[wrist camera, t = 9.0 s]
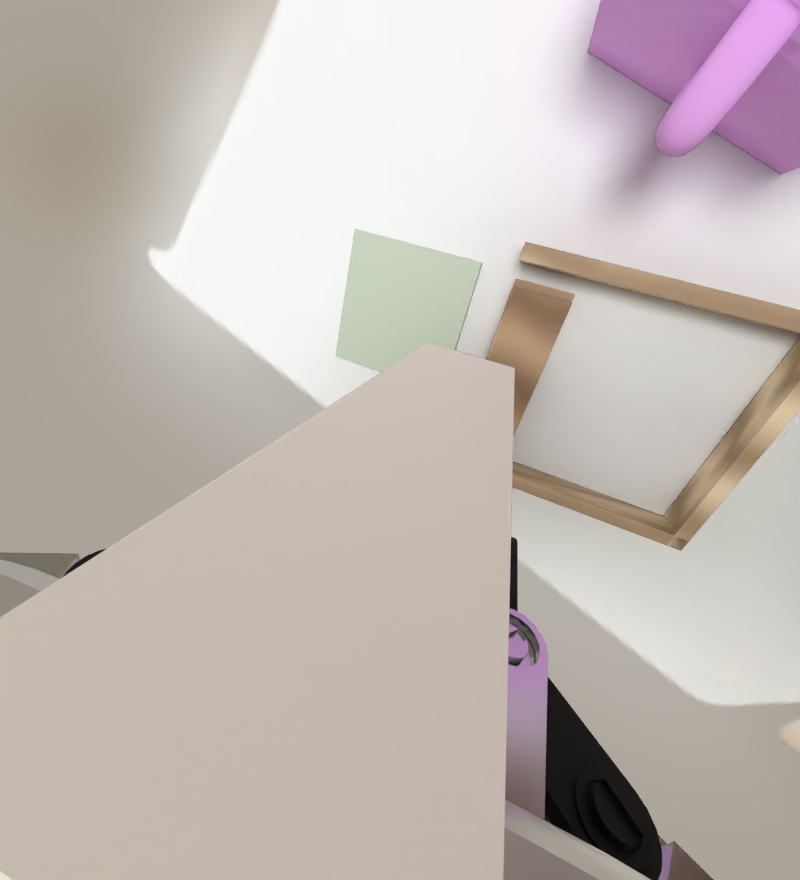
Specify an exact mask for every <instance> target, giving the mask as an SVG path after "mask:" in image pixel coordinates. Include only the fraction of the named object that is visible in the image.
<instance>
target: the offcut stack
mask: <svg viewBox="0 0 800 880" xmlns="http://www.w3.org/2000/svg"><path fill="white" fill-rule="evenodd" d="M574 295H575V294H572V293H568V292H564V291H560V290H557V289H553V288H549V287H546V286H542V285H538V284H534V283H531V282H527V281H523V280H519V279H516V280H515V283H514V286H513V289H512V290H511V293H510V296H509V298H508V301H507V304H506V307H505V310H504V312H503V315H502V318H501V321H500V323H499V326H498V329H497V332H496V335H495V337H494V340H493V343H492V346H491V349H490V351H489V354H488V357H487V360H489V361H493V362H496V363H500V364H503V365H506V366H510V367H513V368H515V381H514V425H513V436H514V434H515V431H516V429H517V427H518V425H519V422H520V420H521V418H522V415H523V413H524V411H525V409H526V406H527V404H528V402H529V400H530V397H531V395H532V393H533V391H534V388H535V386H536V384H537V381H538V379H539V377H540V375H541V372H542V370H543V368H544V366H545V363H546V361H547V359H548V356H549V354H550V352H551V350H552V347H553V345H554V343H555V341H556V338H557V336H558V334H559V332H560V329H561V327H562V325H563V322H564V320H565V318H566V316H567V313H568V311H569V309H570V307H571V304H572V303H571V302H572V300H573V297H574Z"/></svg>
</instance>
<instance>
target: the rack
mask: <svg viewBox="0 0 800 880" xmlns="http://www.w3.org/2000/svg"><path fill="white" fill-rule="evenodd" d="M519 260H520V262H524V263H528V264H531V265H535V266H539V267H543V268H547V269H551V270H555V271H558V272H562V273H566V274H570V275H574V276H578V277H582V278H585V279H589V280H593V281H597V282H601V283H605V284H609V285H612V286H616V287H620V288H624V289H628V290H632V291H636V292H639V293H643V294H647V295H651V296H655V297H659V298H663V299H666V300H670V301H674V302H678V303H682V304H686V305H690V306H693V307H697V308H701V309H705V310H709V311H713V312H717V313H720V314H724V315H728V316H732V317H736V318H740V319H743V320H747V321H751V322H755V323H759V324H763V325H767V326H770V327H774V328H778V329H782V330H786V331H790V332H794V333H797V334H800V310H797V309H793V308H789V307H785V306H781V305H777V304H773V303H769V302H765V301H761V300H757V299H753V298H749V297H745V296H741V295H737V294H733V293H729V292H725V291H721V290H717V289H713V288H709V287H705V286H701V285H697V284H693V283H689V282H685V281H681V280H677V279H672V278H668V277H664V276H660V275H656V274H652V273H648V272H644V271H640V270H636V269H632V268H628V267H624V266H620V265H616V264H612V263H608V262H604V261H600V260H596V259H592V258H588V257H584V256H580V255H576V254H572V253H568V252H564V251H560V250H556V249H552V248H548V247H544V246H540V245H536V244H532V243H528V242H525V245H524V248H523V251H522V253H521V256H520V259H519ZM799 410H800V338H799V339H798V341H797V342H796V343H795V344H794V346H793V347H792V348H791V350H790V351H789V352H788V354H787V355H786V356H785V358H784V359H783V360H782V361H781V363H780V364H779V365H778V367H777V368H776V369H775V371H774V372H773V373H772V375H771V376H770V377H769V379H768V380H767V381H766V382H765V384H764V385H763V386H762V388H761V389H760V390H759V392H758V393H757V394H756V396H755V397H754V398H753V399H752V401H751V402H750V403H749V405H748V406H747V407H746V409H745V410H744V411H743V413H742V414H741V415H740V417H739V418H738V419H737V420H736V422H735V423H734V424H733V426H732V427H731V428H730V430H729V431H728V432H727V434H726V435H725V436H724V437H723V439H722V440H721V441H720V443H719V444H718V445H717V447H716V448H715V449H714V451H713V452H712V453H711V455H710V456H709V457H708V458H707V460H706V461H705V462H704V464H703V465H702V466H701V468H700V469H699V470H698V472H697V473H696V474H695V475H694V477H693V478H692V479H691V481H690V482H689V483H688V485H687V486H686V487H685V489H684V490H683V491H682V493H681V494H680V495H679V496H678V498H677V499H676V500H675V502H674V503H673V504H672V506H671V507H670V508H669V510H668V511H667V512H666V513H665V515H664V516H661V515H658V514H656V513H653V512H650V511H647V510H645V509H642V508H639V507H636V506H634V505H631V504H628V503H625V502H623V501H620V500H617V499H614V498H612V497H609V496H606V495H603V494H601V493H598V492H595V491H592V490H590V489H587V488H584V487H582V486H579V485H576V484H573V483H571V482H568V481H565V480H562V479H560V478H557V477H554V476H551V475H549V474H546V473H543V472H540V471H538V470H535V469H532V468H529V467H527V466H524V465H521V464H518V463H516V462H513V469H512V487H514V488H516V489H519V490H522V491H524V492H527V493H530V494H532V495H535V496H537V497H540V498H543V499H545V500H548V501H551V502H553V503H556V504H559V505H561V506H564V507H567V508H569V509H572V510H575V511H577V512H580V513H582V514H585V515H588V516H590V517H593V518H596V519H598V520H601V521H604V522H606V523H609V524H612V525H614V526H617V527H620V528H622V529H625V530H627V531H630V532H633V533H635V534H638V535H641V536H643V537H646V538H649V539H651V540H654V541H657V542H659V543H662V544H665V545H667V546H670V547H672V548H675V549H678V550H680V551H681V550H682V549H683V548H684V546H685V545H686V544H687V543H688V542H689V540H690V539H691V538H692V537H693V536H694V534H695V533H696V532H697V531H698V530H699V529H700V527H701V526H702V525H703V524H704V523H705V521H706V520H707V519H708V518H709V517H710V516H711V514H712V513H713V512H714V511H715V510H716V508H717V507H718V506H719V505H720V504H721V502H722V501H723V500H724V499H725V498H726V497H727V495H728V494H729V493H730V492H731V491H732V489H733V488H734V487H735V486H736V485H737V484H738V482H739V481H740V480H741V479H742V478H743V476H744V475H745V474H746V473H747V472H748V470H749V469H750V468H751V467H752V466H753V465H754V463H755V462H756V461H757V460H758V459H759V457H760V456H761V455H762V454H763V453H764V452H765V450H766V449H767V448H768V447H769V446H770V444H771V443H772V442H773V441H774V440H775V439H776V437H777V436H778V435H779V434H780V433H781V431H782V430H783V429H784V428H785V427H786V425H787V424H788V423H789V422H790V421H791V420H792V418H793V417H794V416H795V415H796V414H797V412H798V411H799Z"/></svg>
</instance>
